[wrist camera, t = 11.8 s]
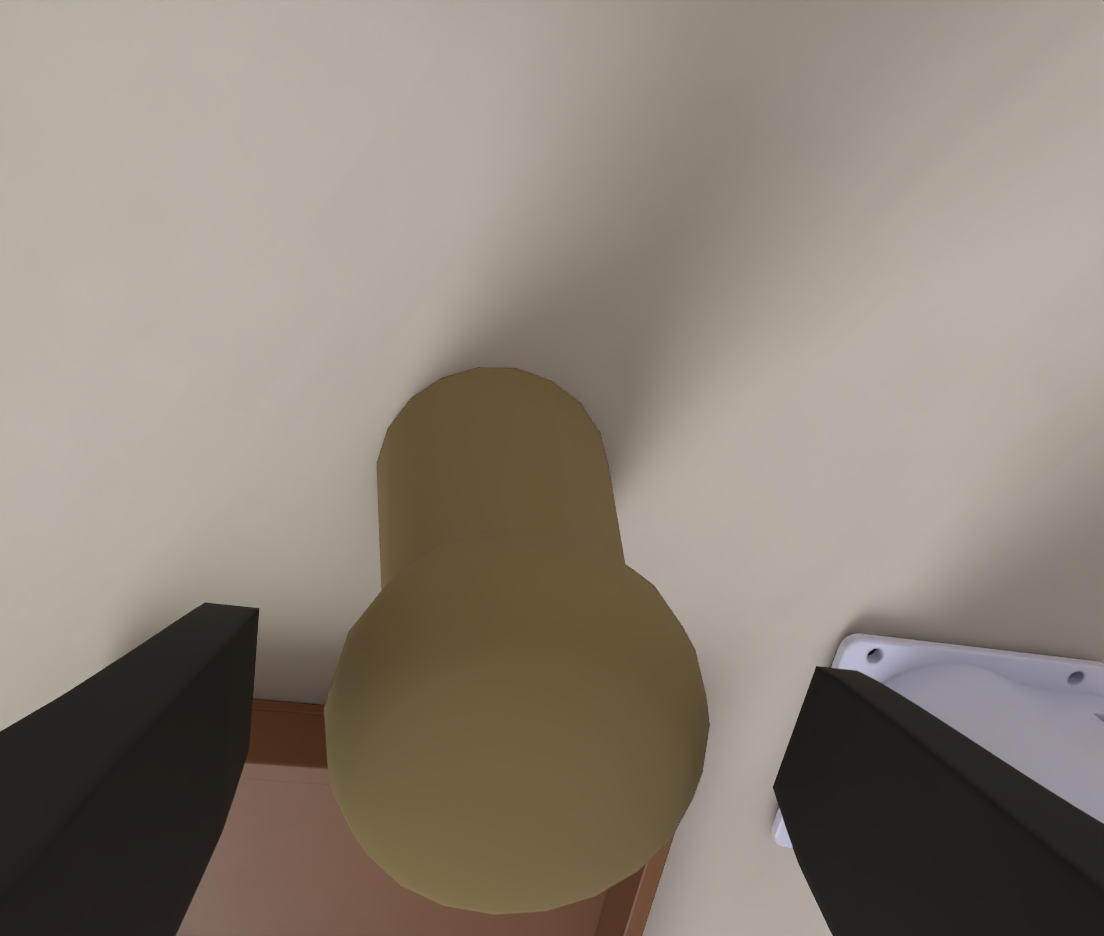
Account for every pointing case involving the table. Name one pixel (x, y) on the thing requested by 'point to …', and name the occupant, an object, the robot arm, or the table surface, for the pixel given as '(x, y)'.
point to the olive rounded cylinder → (510, 662)
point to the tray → (349, 861)
